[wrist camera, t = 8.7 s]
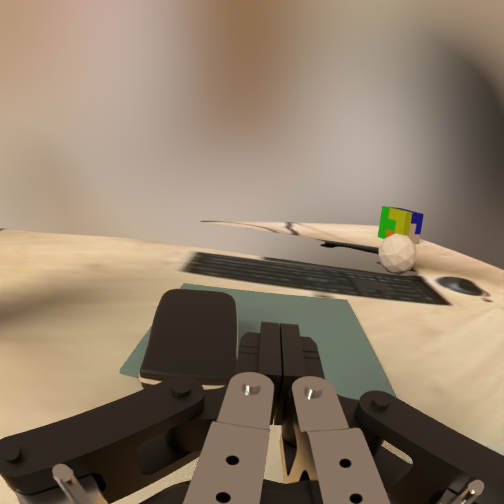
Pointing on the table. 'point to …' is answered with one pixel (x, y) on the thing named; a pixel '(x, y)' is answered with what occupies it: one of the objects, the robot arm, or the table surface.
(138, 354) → the mat
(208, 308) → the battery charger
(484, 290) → the table surface
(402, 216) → the puzzle toy
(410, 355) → the table surface
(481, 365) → the table surface
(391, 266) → the geometric ball
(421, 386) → the table surface
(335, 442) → the robot arm
